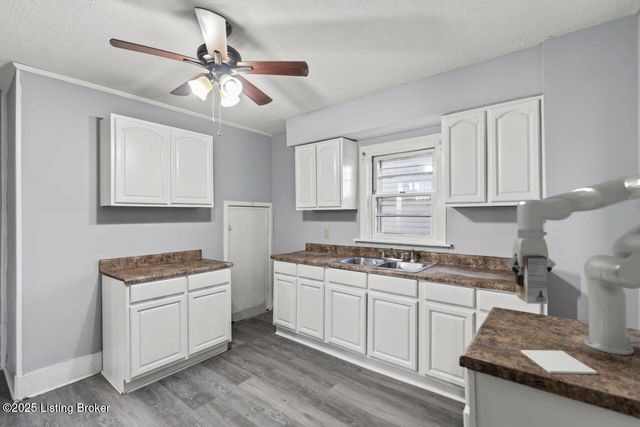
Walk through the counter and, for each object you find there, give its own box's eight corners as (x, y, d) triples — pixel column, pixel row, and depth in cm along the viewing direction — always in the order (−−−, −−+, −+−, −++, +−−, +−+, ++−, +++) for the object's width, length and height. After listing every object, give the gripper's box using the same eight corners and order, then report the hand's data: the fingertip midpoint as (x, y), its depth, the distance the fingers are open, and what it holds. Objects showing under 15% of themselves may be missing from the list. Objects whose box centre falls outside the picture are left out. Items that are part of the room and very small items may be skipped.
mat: (561, 352, 102) (561, 350, 102) (597, 374, 88) (597, 372, 88) (521, 351, 103) (521, 349, 103) (549, 373, 89) (549, 370, 89)
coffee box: (515, 296, 112) (515, 253, 113) (535, 297, 111) (534, 253, 111) (527, 303, 103) (526, 256, 104) (548, 304, 102) (547, 256, 102)
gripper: (548, 234, 111) (549, 283, 111) (499, 234, 112) (499, 283, 112) (563, 235, 103) (564, 288, 103) (510, 235, 104) (511, 288, 104)
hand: (531, 285), depth 107 cm, fingers closed on coffee box, 6 cm apart
